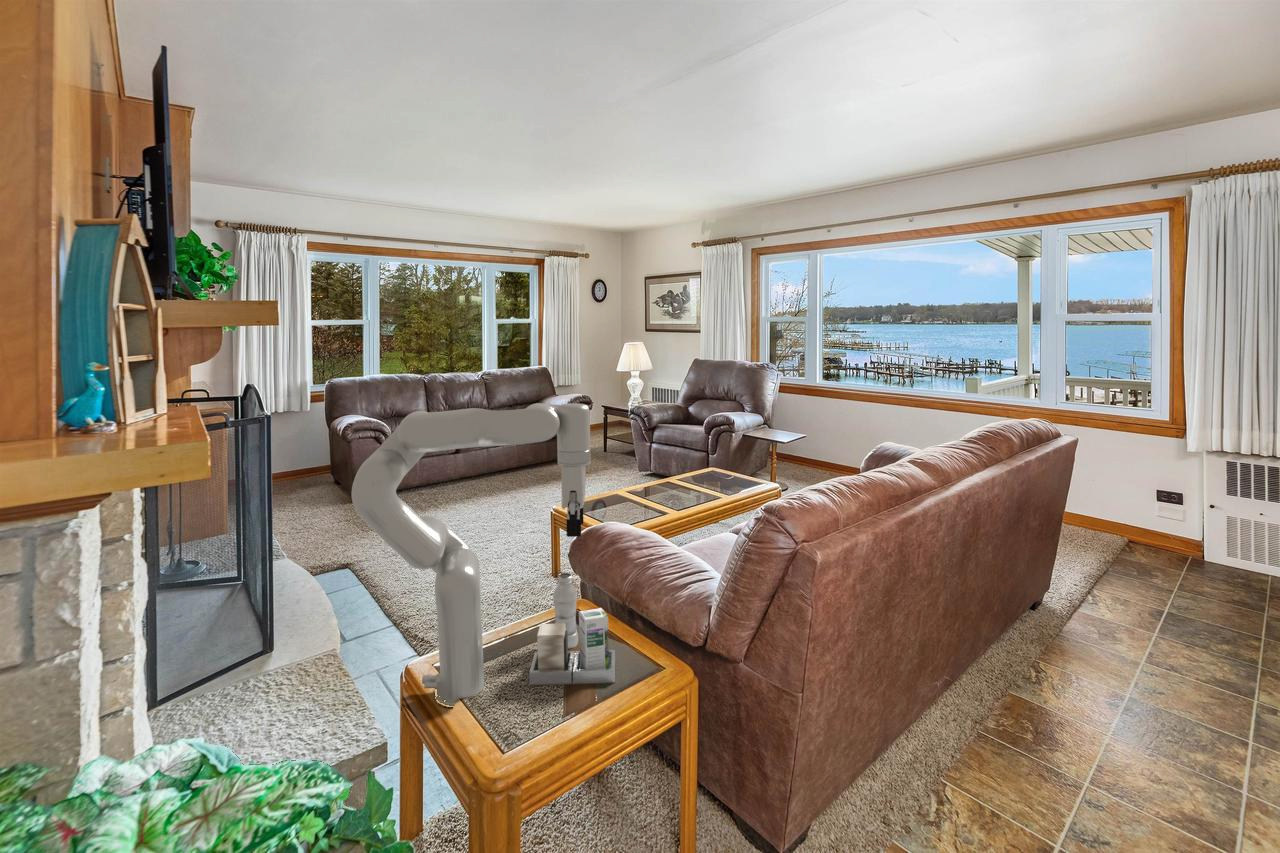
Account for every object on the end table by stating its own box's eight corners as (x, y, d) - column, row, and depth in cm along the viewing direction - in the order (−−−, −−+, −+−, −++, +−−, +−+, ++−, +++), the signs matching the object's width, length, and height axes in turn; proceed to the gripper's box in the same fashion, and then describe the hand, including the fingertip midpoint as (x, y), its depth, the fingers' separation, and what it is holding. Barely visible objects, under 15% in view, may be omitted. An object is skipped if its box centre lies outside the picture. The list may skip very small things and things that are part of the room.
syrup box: (585, 679, 143) (584, 619, 141) (579, 667, 148) (578, 609, 146) (609, 674, 145) (608, 616, 143) (602, 662, 150) (601, 606, 148)
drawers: (528, 691, 141) (528, 672, 140) (534, 669, 151) (534, 651, 150) (615, 688, 142) (615, 670, 141) (615, 666, 152) (615, 649, 151)
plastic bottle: (580, 643, 164) (579, 571, 162) (575, 655, 157) (574, 580, 155) (557, 642, 165) (555, 570, 162) (551, 654, 158) (549, 579, 155)
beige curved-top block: (538, 680, 143) (537, 635, 141) (541, 667, 149) (540, 624, 147) (566, 679, 143) (565, 634, 142) (568, 666, 149) (567, 623, 148)
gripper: (561, 451, 149) (562, 520, 151) (553, 464, 132) (555, 541, 134) (591, 451, 149) (593, 519, 151) (588, 464, 132) (590, 541, 134)
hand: (575, 529), depth 143 cm, fingers open, 9 cm apart
